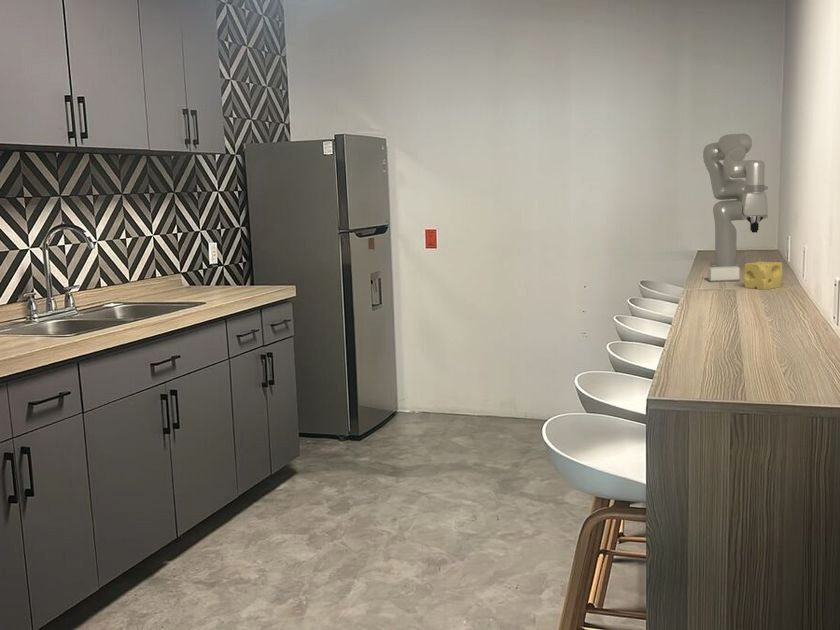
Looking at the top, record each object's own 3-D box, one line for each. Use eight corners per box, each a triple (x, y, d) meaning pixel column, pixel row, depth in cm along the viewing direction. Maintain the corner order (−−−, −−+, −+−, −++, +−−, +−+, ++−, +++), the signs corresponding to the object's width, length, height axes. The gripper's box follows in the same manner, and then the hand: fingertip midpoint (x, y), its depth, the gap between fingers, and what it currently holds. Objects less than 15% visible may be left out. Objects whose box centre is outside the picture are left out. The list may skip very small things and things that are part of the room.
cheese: (764, 290, 331) (764, 264, 330) (742, 287, 341) (742, 263, 339) (782, 287, 336) (783, 262, 334) (760, 284, 345) (761, 260, 344)
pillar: (736, 277, 366) (708, 278, 367) (737, 266, 365) (708, 267, 366) (739, 279, 361) (710, 280, 362) (740, 267, 360) (710, 268, 361)
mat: (704, 279, 370) (704, 278, 369) (733, 278, 368) (733, 277, 368) (710, 282, 360) (710, 281, 360) (739, 281, 358) (739, 280, 358)
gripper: (770, 188, 368) (769, 230, 371) (734, 190, 369) (734, 232, 372) (775, 188, 360) (774, 232, 363) (739, 190, 362) (738, 233, 365)
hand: (754, 232), depth 368 cm, fingers closed
